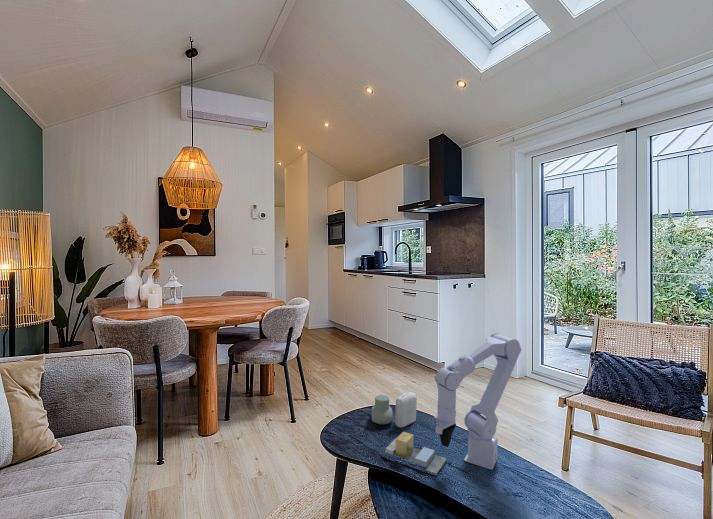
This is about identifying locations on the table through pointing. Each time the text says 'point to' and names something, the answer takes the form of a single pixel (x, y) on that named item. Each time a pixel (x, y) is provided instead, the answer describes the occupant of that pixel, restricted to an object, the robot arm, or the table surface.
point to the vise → (432, 466)
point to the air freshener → (382, 410)
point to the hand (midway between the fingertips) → (445, 445)
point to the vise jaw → (424, 457)
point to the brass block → (404, 445)
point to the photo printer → (405, 409)
